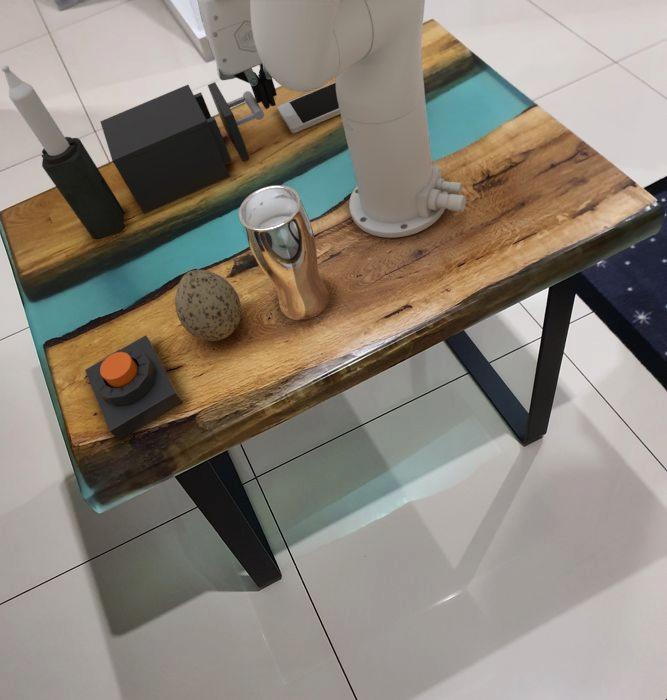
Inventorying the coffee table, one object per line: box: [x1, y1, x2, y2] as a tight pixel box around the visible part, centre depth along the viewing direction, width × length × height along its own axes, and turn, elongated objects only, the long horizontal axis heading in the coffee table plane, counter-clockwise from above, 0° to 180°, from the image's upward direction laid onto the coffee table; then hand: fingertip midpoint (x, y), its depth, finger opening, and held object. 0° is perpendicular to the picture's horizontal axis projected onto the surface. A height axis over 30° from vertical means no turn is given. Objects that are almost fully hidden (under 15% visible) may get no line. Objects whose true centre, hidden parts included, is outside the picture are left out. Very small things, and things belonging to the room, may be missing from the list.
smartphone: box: [277, 81, 341, 134], centre depth 99 cm, size 7×15×1 cm, turn 111°
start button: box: [100, 352, 138, 388], centre depth 71 cm, size 4×4×2 cm
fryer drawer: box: [193, 81, 265, 166], centre depth 94 cm, size 17×9×8 cm, turn 112°
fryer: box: [100, 84, 231, 215], centre depth 93 cm, size 14×11×10 cm
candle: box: [0, 63, 126, 240], centre depth 84 cm, size 5×5×25 cm
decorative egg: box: [174, 269, 242, 342], centre depth 73 cm, size 7×7×10 cm
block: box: [84, 335, 184, 441], centre depth 73 cm, size 10×8×4 cm
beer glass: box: [238, 184, 330, 321], centre depth 71 cm, size 7×7×15 cm
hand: (267, 102), depth 94 cm, fingers closed
